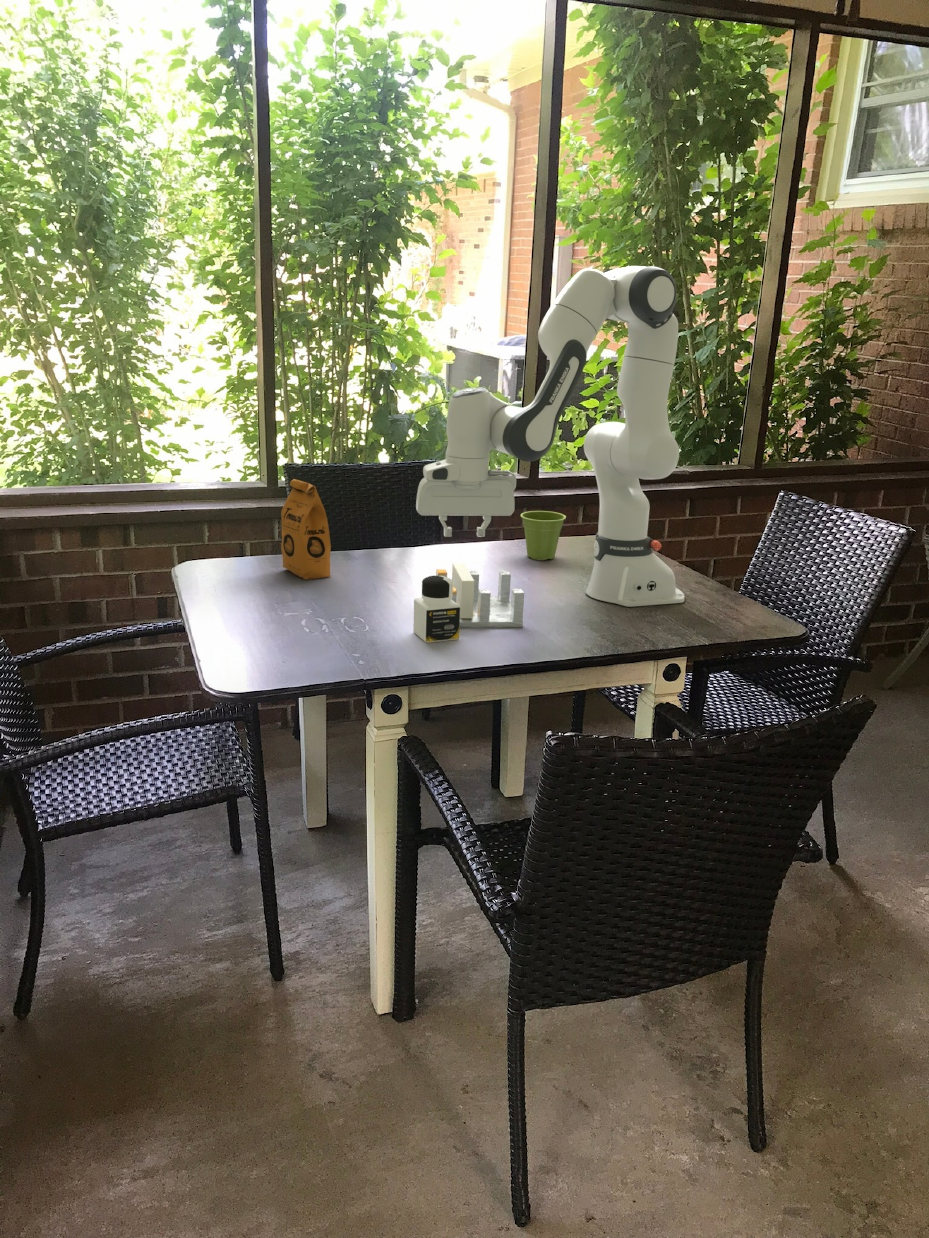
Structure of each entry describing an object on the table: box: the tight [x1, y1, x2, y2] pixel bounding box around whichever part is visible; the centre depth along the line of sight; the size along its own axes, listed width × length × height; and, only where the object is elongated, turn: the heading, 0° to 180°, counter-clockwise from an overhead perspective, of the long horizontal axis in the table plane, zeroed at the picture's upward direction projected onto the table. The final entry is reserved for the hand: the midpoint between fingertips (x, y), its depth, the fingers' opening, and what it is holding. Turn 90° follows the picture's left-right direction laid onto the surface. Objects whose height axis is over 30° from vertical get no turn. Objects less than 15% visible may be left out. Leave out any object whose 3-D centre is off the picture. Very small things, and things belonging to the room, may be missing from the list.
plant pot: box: [520, 510, 567, 561], centre depth 253 cm, size 12×12×11 cm
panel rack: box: [435, 568, 525, 629], centre depth 205 cm, size 16×18×8 cm
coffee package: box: [280, 478, 332, 581], centre depth 228 cm, size 10×12×22 cm
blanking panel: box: [451, 562, 474, 618], centre depth 204 cm, size 2×14×8 cm, turn 9°
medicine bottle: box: [412, 575, 460, 644], centre depth 190 cm, size 7×7×12 cm
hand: (464, 536), depth 200 cm, fingers open, 5 cm apart
